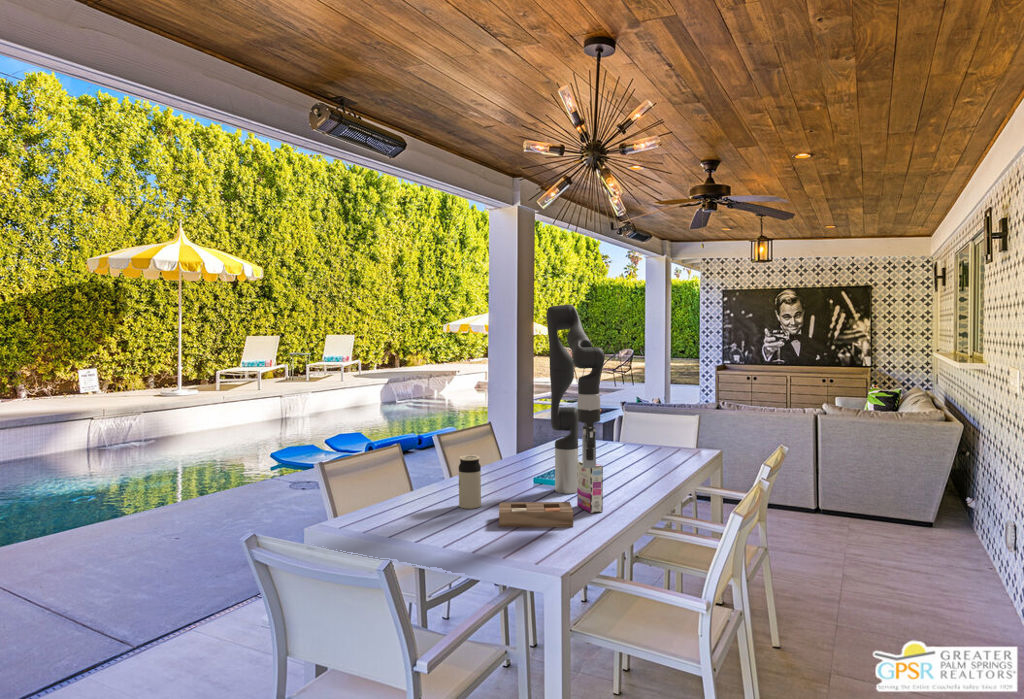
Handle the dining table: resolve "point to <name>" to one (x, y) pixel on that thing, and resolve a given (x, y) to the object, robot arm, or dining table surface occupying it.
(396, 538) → the dining table surface
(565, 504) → the socket block
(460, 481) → the travel mug
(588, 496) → the candy bar box
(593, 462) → the plug
